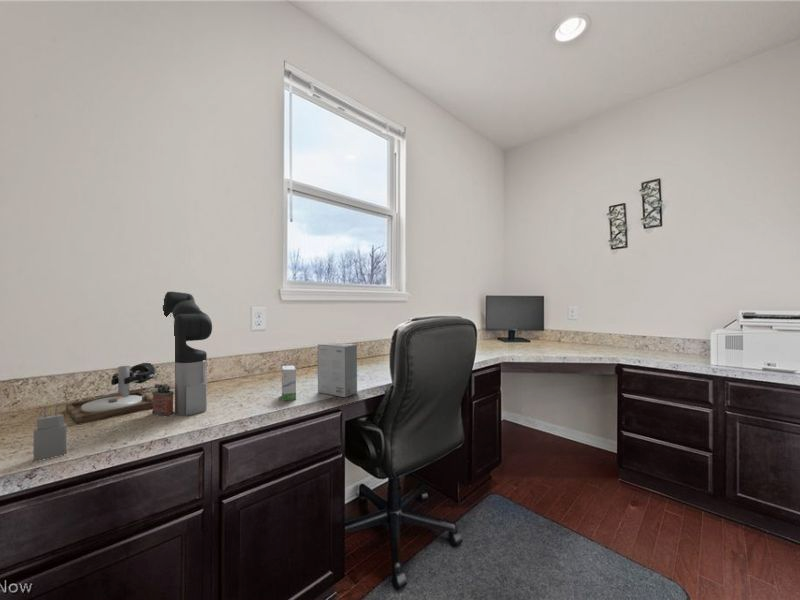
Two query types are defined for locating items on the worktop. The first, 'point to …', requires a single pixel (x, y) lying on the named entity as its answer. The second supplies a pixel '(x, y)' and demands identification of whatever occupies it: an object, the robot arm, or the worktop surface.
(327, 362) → the hard drive box
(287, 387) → the ink box
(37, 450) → the power adapter
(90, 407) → the cylinder on round base
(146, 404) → the wooden tray
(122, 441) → the worktop surface
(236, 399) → the worktop surface
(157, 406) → the lighter
